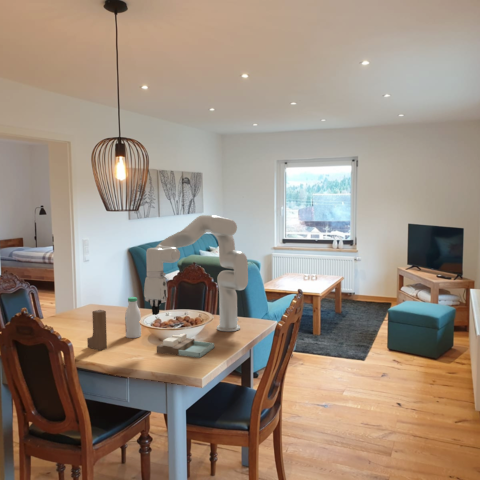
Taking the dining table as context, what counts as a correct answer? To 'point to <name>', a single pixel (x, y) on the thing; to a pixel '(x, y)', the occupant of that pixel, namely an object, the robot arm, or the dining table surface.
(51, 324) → the dining table surface
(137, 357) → the dining table surface
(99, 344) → the wooden block
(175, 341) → the tile
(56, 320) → the dining table surface
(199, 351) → the tray
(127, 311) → the milk bottle
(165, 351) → the walnut board
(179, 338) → the tile
